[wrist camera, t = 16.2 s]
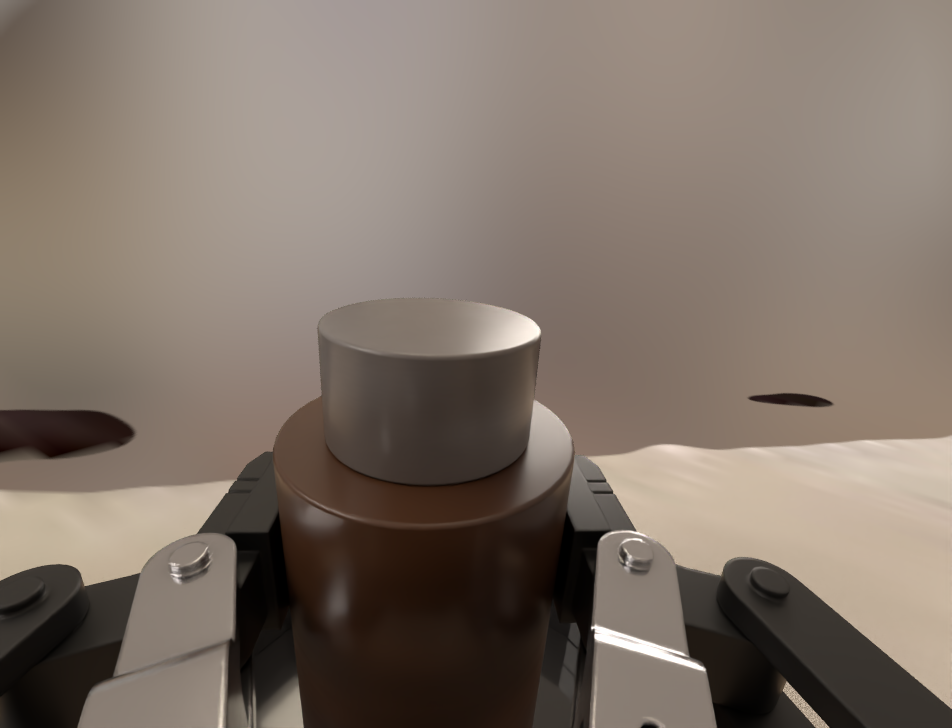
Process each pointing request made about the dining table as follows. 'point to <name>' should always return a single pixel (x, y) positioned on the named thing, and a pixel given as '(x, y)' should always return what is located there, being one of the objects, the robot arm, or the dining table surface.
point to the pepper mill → (422, 518)
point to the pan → (282, 696)
